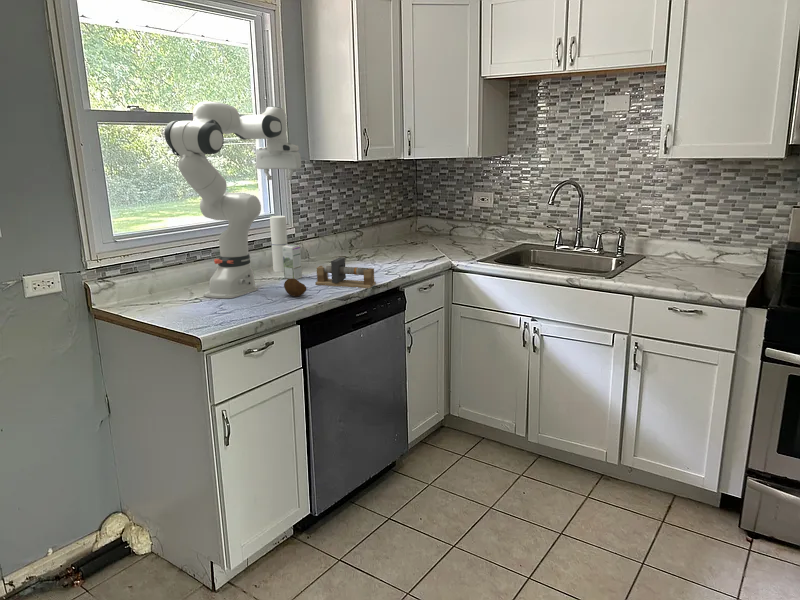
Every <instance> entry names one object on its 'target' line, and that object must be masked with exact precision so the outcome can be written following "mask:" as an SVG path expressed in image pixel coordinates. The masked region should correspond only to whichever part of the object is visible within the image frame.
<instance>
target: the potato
mask: <svg viewBox="0 0 800 600" xmlns="http://www.w3.org/2000/svg"><path fill="white" fill-rule="evenodd" d="M283 288H284V290H285V292H287V294H288V295H289V296H291V297H295V298H297V297H301V296H302V295H304V294H305V293H306V291H307V286H306V285H305V283H302V282H301V281H299V280H298V279H294V278H291V279H286V280H285V281H284V283H283Z"/></svg>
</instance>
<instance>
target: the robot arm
mask: <svg viewBox="0 0 800 600" xmlns="http://www.w3.org/2000/svg"><path fill="white" fill-rule="evenodd" d="M192 118H193V119H192V120H182V119H178V120H172V121H170V122H168V123H167V124H166V126H165V128H164V139H165V142H166V143H167V144H166V145H168V147H169V148H170V149H171V152H172V154H173V155H175V156H177V157H180V158H179V160H178V163H177V167H178V170H179V172H180V174H181V175H182V177H183V179H185V181H186V182H187V183H188V185H189V186H190V187H191V188H192V189H193V190H194V191H195V192H196V194H198V195H199V196H200V198H201V199H200V202H199V209H200V211H201V214H202V215H203V216H204V217H205V218H208V219H211V220H213V221H228V226H227V228H226V230H224V231H223V232H221V234H219V236H218V237H219V238H218V241H219V242H218V243H219V257H218V258H214V259H213V261H214V264H215V265H217V264H218V266H217V268H216V270H215V271H214V272H213V274H212V276H211V277H210V279H209V281H208V282H209V283H208V284H209V286H208V288H209V289H208V290H207V291H205V292H204V293H203V297H207V298H213V299H234V298H237V297H238V298H239V297H240V296H243V295H247V294H249V293H252V292H256V291H258V290H259V288H258V286H257V285H256V280H255V275H254V270H253V268H252V267H251V256H250V253H249V242H248V241H249V239H248V238H249V231H250V228H251V227H252V226H251V225H252V224H253V223H254V222H255V220H256V219H257V218H258V217H259V216H260V214H261V211H262V204H261V201H260V200H259V198H258V197H257V196H256V195H254V194H250V193H245V192H229V191H227V188H228V187H227V186H228V185H227V181H226V179H225V177H224V176H223V175H222V174H221V173H220V172H219V171H218V170H217V168H216V167H215V166H214V165H213V164H212V163H211V162H210V161H209V160H208V158H207V155H209V156H210V155H214V154H217V153H218V154H219V153H220V151H221V150H222V149H223V146H224V141H225V139H224V135H229V134H233V135H235V136H236V137H238V138H239V139H241V140H243V141H248V140H259V139H260V140H262V139H263V140H266V146H259V147H258V148H257V149H255V167H256V169H258V170H263V172H264V174H265V176H266V180H267V181H272V179H273V177H272V175H271V174H270V170H288V173H289V174H288V175H286V180H287V181H291V180H292V179H293V178H292V176H293V174H294V170H300V169H301V168H302V157H301V153H300V152H299V149H300V147H299V145H297V144H296V145H295V144H293V143H291V142H289V141H288V137H287V130H288V125H287V124H288V123H287V117H286V113H285V109H283V108H282V107H279V106H267V107H266V109H265V111H264V112H262V113H261V114H240V113H239V111H238V110H237V108H235V107H234V106H232V105H230V104H227V103H223V102H220V101H219V102H217V101H201V102H200V101H199V102H198V103H197V104H196V105H194V107H193V110H192Z"/></svg>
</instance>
